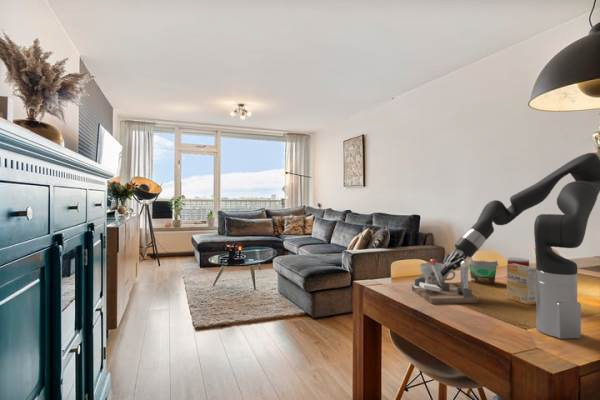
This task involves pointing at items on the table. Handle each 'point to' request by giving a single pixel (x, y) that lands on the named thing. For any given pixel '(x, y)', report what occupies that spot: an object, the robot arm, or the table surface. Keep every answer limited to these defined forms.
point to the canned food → (518, 261)
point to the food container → (483, 271)
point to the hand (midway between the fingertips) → (440, 274)
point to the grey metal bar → (464, 276)
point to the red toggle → (436, 271)
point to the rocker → (430, 287)
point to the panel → (445, 294)
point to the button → (419, 280)
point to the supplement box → (521, 283)
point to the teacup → (430, 275)
